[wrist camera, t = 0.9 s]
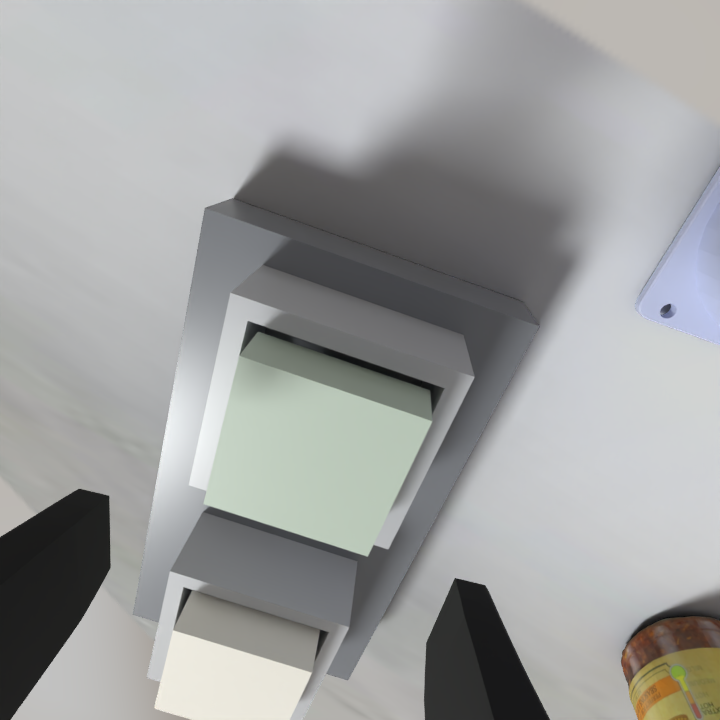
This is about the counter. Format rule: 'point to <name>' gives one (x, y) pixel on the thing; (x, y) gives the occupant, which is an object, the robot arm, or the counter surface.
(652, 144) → the counter surface
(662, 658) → the sauce bottle
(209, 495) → the sage key
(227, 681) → the cream key
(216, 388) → the key console
